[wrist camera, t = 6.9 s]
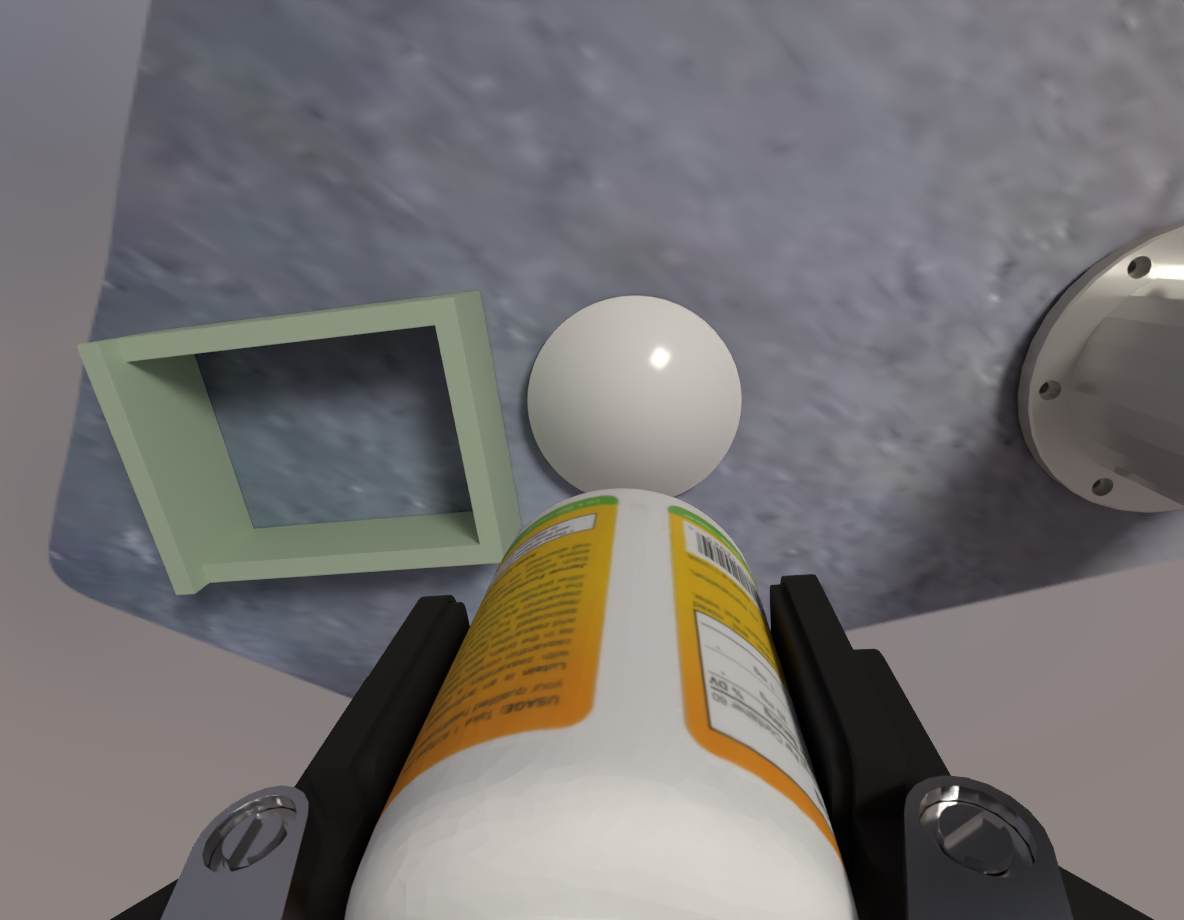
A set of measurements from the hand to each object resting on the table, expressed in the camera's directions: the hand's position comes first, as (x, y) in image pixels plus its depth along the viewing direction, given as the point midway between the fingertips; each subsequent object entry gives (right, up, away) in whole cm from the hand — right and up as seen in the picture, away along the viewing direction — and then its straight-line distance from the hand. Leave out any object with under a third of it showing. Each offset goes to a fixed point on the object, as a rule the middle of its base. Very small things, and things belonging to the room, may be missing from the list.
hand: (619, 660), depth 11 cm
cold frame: (-13, +5, +20) cm, 24 cm away
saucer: (+1, +6, +18) cm, 19 cm away
